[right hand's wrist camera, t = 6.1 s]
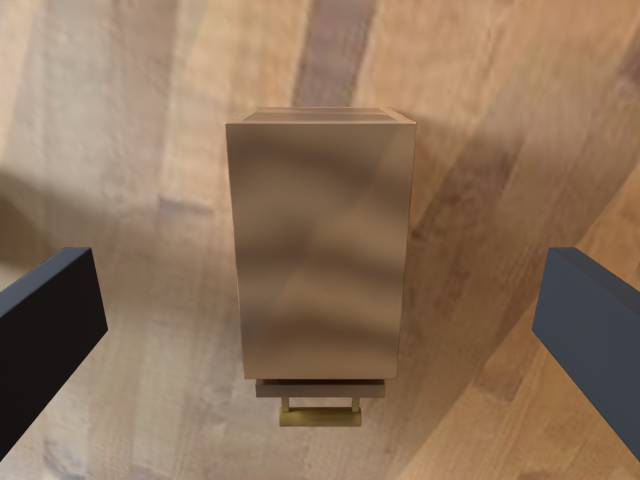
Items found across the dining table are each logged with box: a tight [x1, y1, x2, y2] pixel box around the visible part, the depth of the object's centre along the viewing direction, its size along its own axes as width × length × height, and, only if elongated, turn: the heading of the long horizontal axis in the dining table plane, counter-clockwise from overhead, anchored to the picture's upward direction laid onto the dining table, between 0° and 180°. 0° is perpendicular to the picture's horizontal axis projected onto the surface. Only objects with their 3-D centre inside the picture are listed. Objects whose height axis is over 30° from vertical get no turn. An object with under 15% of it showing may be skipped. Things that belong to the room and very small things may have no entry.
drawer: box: [256, 379, 385, 427], centre depth 36 cm, size 22×10×9 cm, turn 0°
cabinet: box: [225, 107, 417, 379], centre depth 33 cm, size 18×11×11 cm, turn 0°
